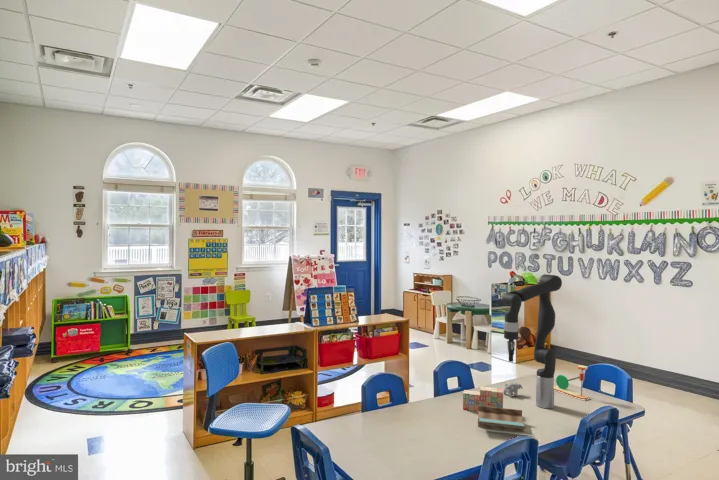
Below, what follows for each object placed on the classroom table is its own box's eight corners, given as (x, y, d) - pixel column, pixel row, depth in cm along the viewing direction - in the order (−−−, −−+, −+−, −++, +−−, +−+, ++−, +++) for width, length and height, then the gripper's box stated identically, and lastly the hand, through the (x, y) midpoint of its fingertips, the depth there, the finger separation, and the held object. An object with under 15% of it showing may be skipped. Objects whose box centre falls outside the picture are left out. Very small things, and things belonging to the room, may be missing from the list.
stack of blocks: (462, 409, 258) (463, 387, 258) (463, 405, 264) (464, 384, 264) (502, 415, 251) (503, 392, 251) (502, 410, 257) (503, 388, 257)
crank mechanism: (590, 399, 279) (591, 367, 279) (583, 400, 276) (584, 368, 276) (554, 387, 301) (555, 357, 301) (548, 388, 298) (548, 358, 298)
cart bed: (521, 422, 241) (521, 410, 241) (523, 431, 229) (524, 418, 229) (478, 417, 246) (478, 405, 246) (478, 426, 235) (478, 413, 235)
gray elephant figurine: (500, 395, 284) (500, 382, 284) (512, 390, 292) (512, 378, 291) (514, 399, 277) (514, 387, 277) (525, 394, 284) (525, 382, 284)
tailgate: (523, 422, 229) (524, 426, 221) (523, 425, 228) (524, 429, 221) (479, 417, 234) (479, 421, 226) (479, 420, 234) (479, 423, 226)
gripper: (519, 332, 247) (519, 365, 248) (517, 327, 260) (516, 358, 260) (504, 332, 249) (504, 364, 249) (503, 327, 262) (503, 357, 262)
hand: (510, 361), depth 255 cm, fingers closed
